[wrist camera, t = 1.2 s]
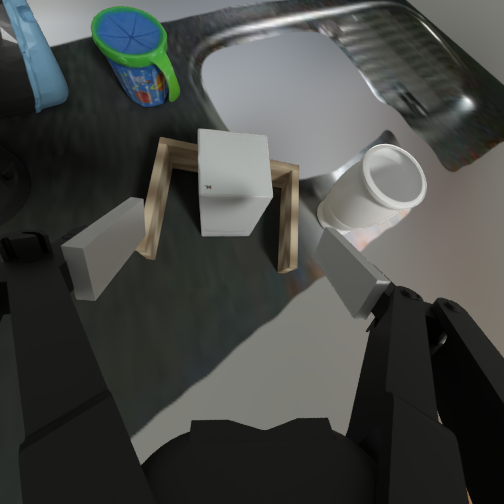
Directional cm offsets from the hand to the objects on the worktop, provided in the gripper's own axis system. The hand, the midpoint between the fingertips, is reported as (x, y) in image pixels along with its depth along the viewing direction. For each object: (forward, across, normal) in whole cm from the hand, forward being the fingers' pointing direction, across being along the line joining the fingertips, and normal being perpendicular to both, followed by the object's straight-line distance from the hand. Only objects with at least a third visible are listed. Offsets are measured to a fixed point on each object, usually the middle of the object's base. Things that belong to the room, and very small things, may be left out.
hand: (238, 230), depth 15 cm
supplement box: (+24, 0, -8) cm, 25 cm away
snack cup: (+40, -18, +9) cm, 45 cm away
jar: (+26, +22, -6) cm, 35 cm away
